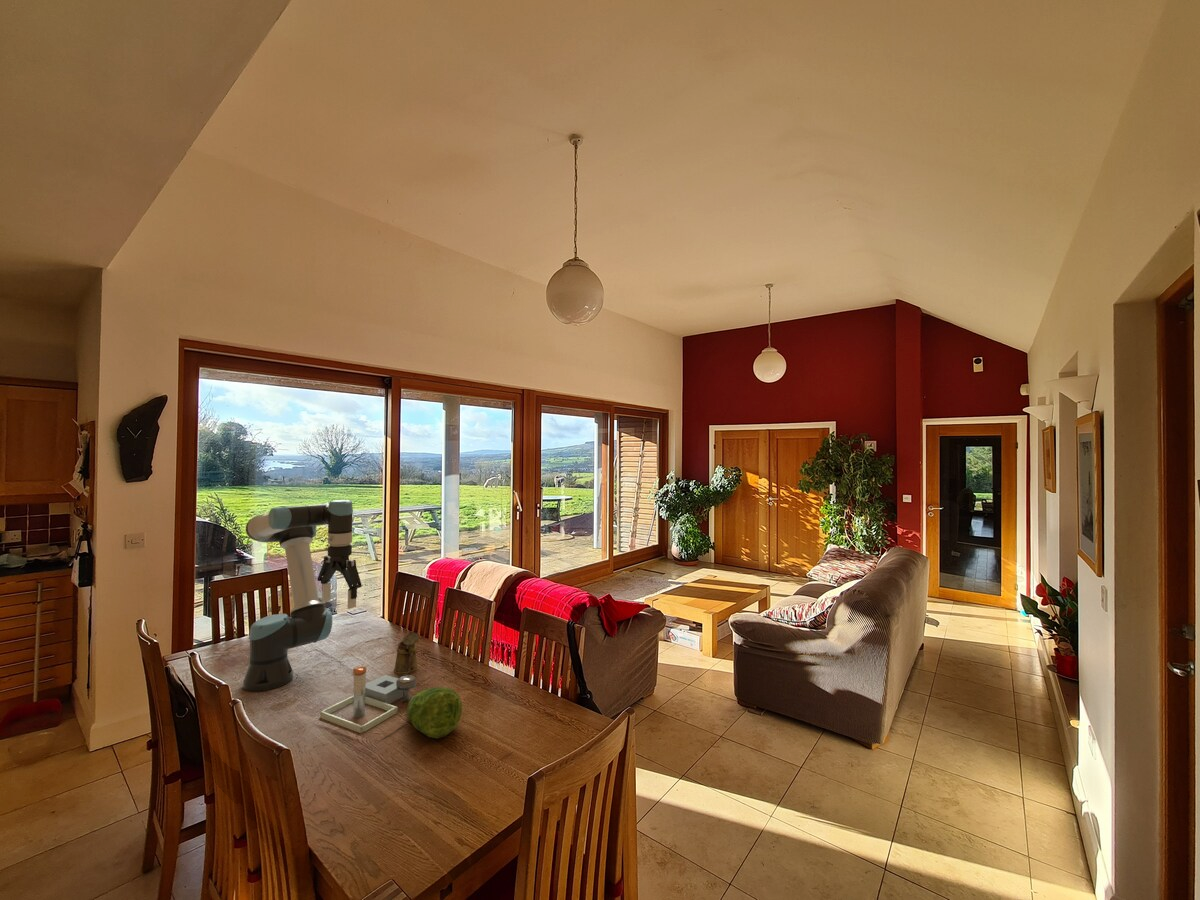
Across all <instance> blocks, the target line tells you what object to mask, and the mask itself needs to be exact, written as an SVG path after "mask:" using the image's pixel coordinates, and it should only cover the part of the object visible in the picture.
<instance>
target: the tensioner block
mask: <svg viewBox="0 0 1200 900" xmlns="http://www.w3.org/2000/svg"><path fill="white" fill-rule="evenodd" d="M398 679H399V678H398V677H394V676H392V675H391V676H390V675H388V674H384V675H382V676H379V677H378V678H375V679H373V680H372V681H369V682H366V685H365V696H366V697H369V698H372V699H375V700H378V701H381V702H384V703H387V704H390V705H392V703H393V704H394V702H397V700H399V699H402V698H403V690H399V689H397V688H396V681H397V680H398Z"/></svg>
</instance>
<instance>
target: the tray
mask: <svg viewBox="0 0 1200 900" xmlns="http://www.w3.org/2000/svg"><path fill="white" fill-rule="evenodd" d="M353 700H354V694H353V695H352V696H350V697H347V698H345V699H343V700H342V701H341V700H340V701H339V702H337V703H335V704H333V705H331V706H329V707H327V708H325V709H323V710H321V711H320V712H319V714H320V715H319V717H320V719H323V720H320V719H319V720H320V722H322V723H325V724H328V725H330V726H333V727H336V728H338V729H341V730H344V731H345V732H349V733H352V734H353V735H356V736H360V737H361V738H362V737H363V736H362V735H360V734H363V733H364V732H366V731H368V730H370V729H372V728H373V727H375V726H377V725H378V724H381V723H382V722H384V721H385V720H387V719H389V718H391V717H392V716H394V715H396V714H398V706H396V705H393V704H387V703H384V702H381V701H378V700H375V699H372V698H369V697H366V696H365V705H370V706H372V707H375V708H378V709H381V710H385V711H386V712H384V713H382V714H381V715H378V716H377V717H375V718H374V719H371V720H369V721H367V722H366V723H365V724H358V723H355V722H353V721H350V720H347V719H344V718H343V717H339V716H337V715H334V714H332V713H335V712H336V711H339V710H340V709H342V708H344V707H346V706H349V705H351V704H353ZM324 720H325V721H324ZM326 721H328V722H331V723H333V724H331V723H328V722H326ZM334 724H335V725H334ZM337 725H339V726H341V727H344V728H346V729H344V728H341V727H338V726H337ZM347 729H348V730H347ZM349 730H352V731H354V732H352V731H349ZM355 732H356V733H355ZM357 733H359V734H357Z"/></svg>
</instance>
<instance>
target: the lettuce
mask: <svg viewBox="0 0 1200 900" xmlns="http://www.w3.org/2000/svg"><path fill="white" fill-rule="evenodd" d="M406 714H407V717H408V719H409V721H410V723H411V724H412V725H413V728H415V729H416V730H417V731H419V732H421V734H424V735H426V736H427V737H428V738H432V739H439V738H443V737H446V736H447V735H449V734H450V733H451V732H453V731H454V730H455V728H456V726H458V724H459V722H460V719H461V716H462V714H463V703H462V700H461V698H460V695H459V694H458V693H457V692H456V691H455V690H453V689H452V688H450V687H449V688H447V687H443V686H436V687H431V688H426V689H424V690H421V691H418V693H416V694H415V695H413V696H412V697H411V699H410V700H409V701H408V704H407V708H406Z"/></svg>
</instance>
